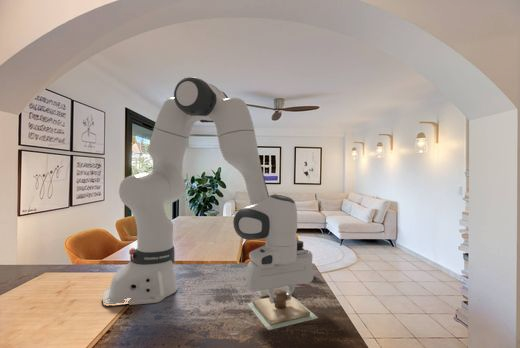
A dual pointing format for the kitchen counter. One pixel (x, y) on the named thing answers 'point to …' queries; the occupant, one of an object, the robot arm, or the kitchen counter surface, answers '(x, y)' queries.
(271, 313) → the oak lid
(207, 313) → the kitchen counter surface
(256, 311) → the sage mat
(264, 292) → the white open box
